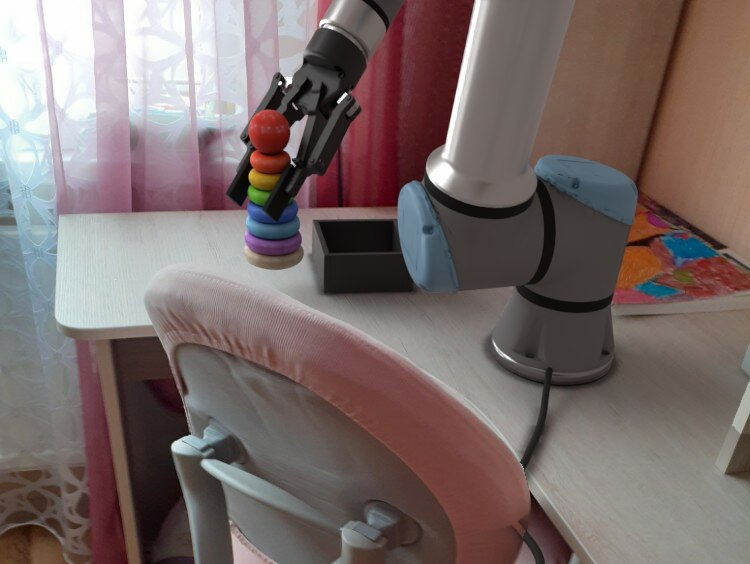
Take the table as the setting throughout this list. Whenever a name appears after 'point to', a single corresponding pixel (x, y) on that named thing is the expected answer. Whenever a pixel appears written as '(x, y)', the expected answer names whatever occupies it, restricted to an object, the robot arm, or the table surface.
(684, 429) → the table surface
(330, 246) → the box
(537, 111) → the robot arm
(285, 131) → the stacking toy
